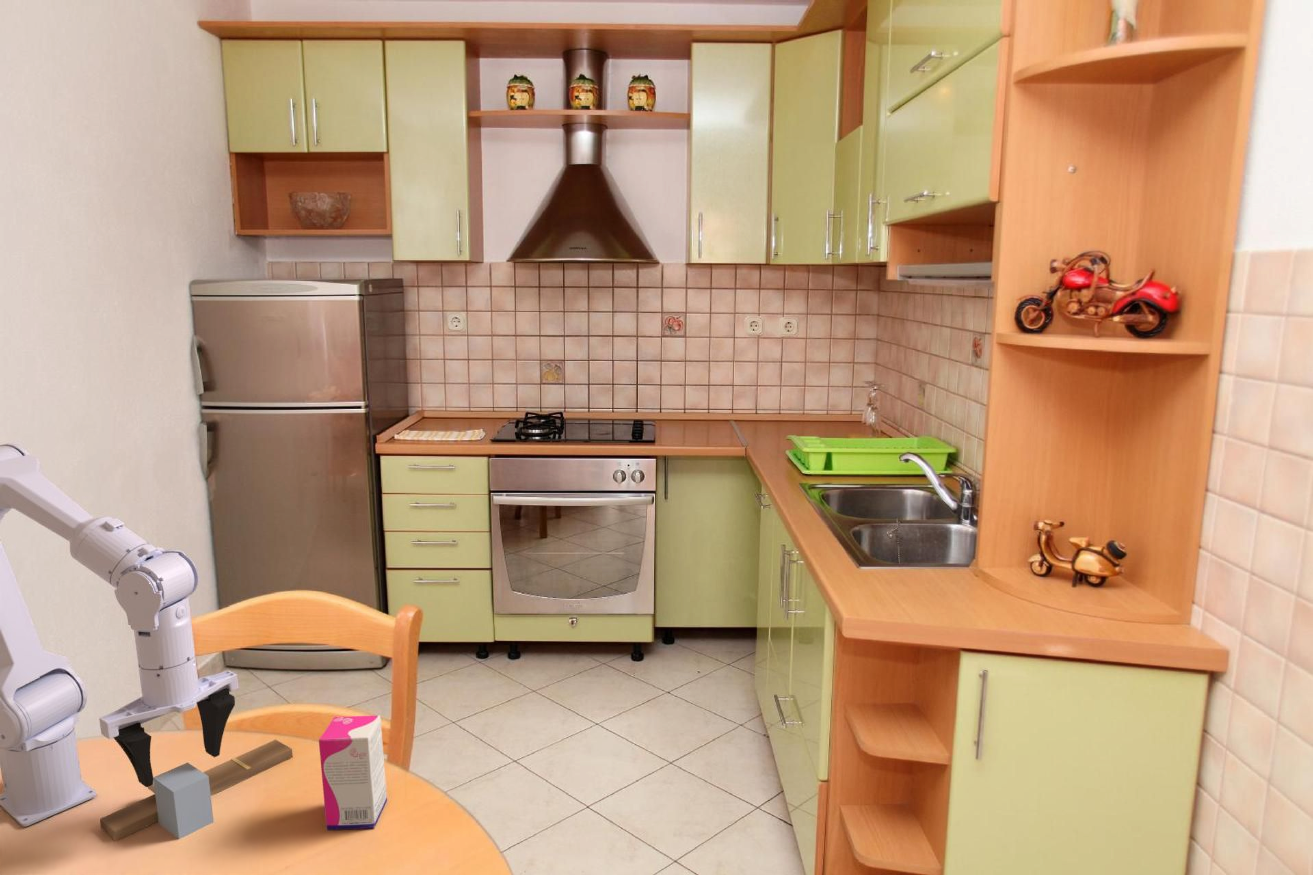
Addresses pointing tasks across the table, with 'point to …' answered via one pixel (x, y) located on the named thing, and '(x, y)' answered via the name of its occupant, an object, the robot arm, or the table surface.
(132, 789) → the table surface
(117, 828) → the board
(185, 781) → the grey tall block
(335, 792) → the supplement box
